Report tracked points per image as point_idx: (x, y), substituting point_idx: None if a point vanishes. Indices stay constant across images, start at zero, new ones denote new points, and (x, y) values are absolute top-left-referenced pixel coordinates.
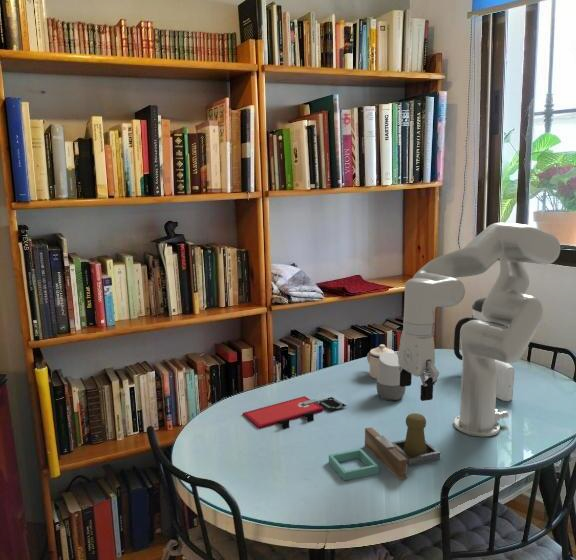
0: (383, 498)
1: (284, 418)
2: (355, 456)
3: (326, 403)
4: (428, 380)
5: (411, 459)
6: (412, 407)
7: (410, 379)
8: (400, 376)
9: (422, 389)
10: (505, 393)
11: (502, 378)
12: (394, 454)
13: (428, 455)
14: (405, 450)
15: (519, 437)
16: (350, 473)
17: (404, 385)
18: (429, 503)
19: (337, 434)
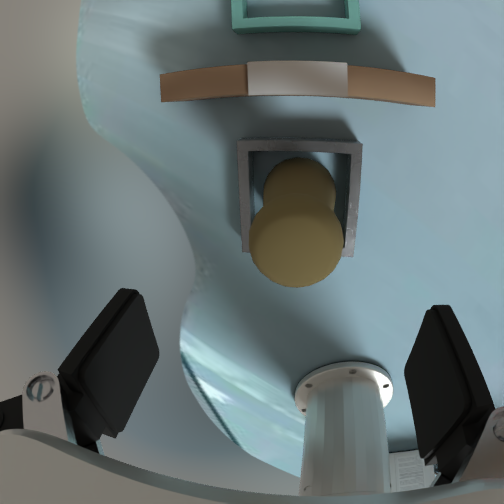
0: (128, 15)
1: None
2: (346, 10)
3: None
4: (9, 419)
5: (238, 149)
6: (493, 332)
7: (414, 403)
8: (471, 368)
9: (76, 348)
10: None
11: (393, 487)
12: (202, 72)
13: (240, 211)
14: (302, 164)
15: (270, 416)
16: None
17: (421, 333)
18: (86, 111)
19: (492, 56)
